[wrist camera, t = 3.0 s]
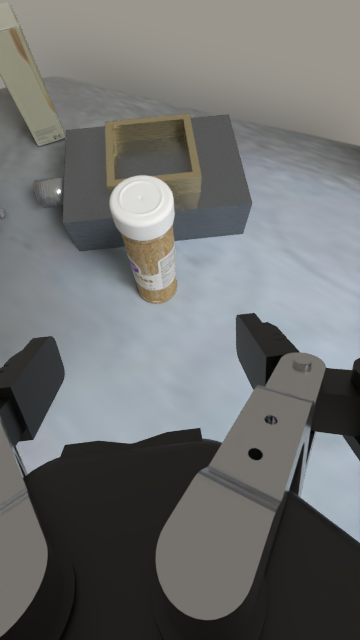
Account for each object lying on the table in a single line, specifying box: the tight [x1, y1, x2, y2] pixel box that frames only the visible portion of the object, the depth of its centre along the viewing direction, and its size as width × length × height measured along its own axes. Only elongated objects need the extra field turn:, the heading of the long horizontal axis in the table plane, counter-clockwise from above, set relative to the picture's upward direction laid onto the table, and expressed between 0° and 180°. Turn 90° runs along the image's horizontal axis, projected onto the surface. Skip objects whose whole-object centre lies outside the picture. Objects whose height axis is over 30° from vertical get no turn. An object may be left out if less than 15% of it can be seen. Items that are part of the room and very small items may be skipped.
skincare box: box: [0, 1, 66, 146], centre depth 36 cm, size 6×4×12 cm
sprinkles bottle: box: [109, 175, 177, 304], centre depth 25 cm, size 5×5×14 cm
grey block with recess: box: [33, 114, 252, 251], centre depth 33 cm, size 24×14×7 cm, turn 97°
